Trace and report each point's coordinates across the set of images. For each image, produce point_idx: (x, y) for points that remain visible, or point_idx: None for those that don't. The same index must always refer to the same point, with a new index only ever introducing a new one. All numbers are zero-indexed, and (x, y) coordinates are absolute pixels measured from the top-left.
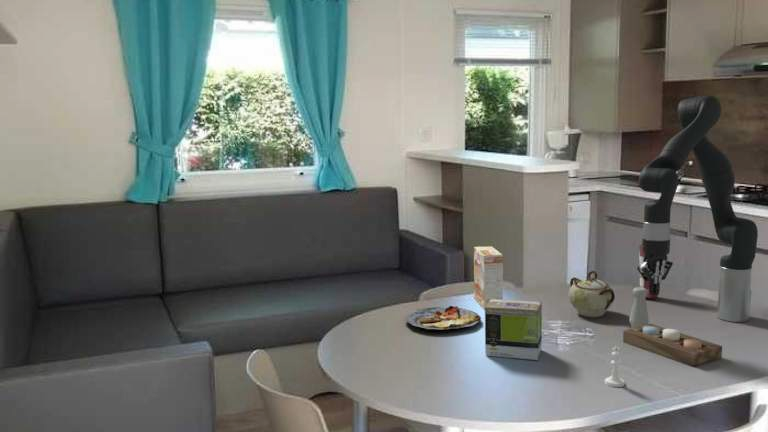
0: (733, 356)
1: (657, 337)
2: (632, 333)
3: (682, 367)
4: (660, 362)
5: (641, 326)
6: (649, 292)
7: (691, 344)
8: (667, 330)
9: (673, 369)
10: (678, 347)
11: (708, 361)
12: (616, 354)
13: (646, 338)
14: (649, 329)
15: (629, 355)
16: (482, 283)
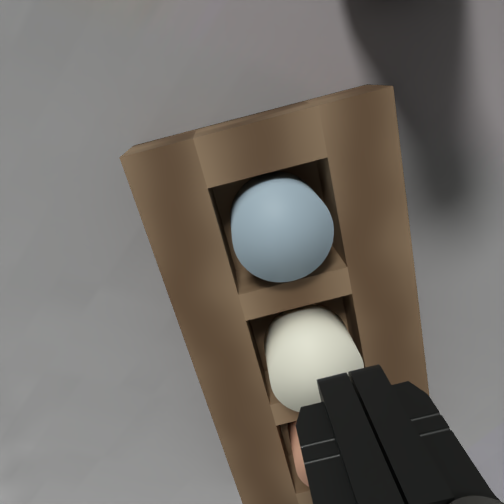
0: (471, 439)
1: (246, 326)
2: (147, 225)
3: (206, 477)
4: (154, 422)
5: (289, 122)
6: (298, 421)
7: (305, 483)
8: (307, 358)
9: (159, 484)
10: (248, 458)
11: None
12: None
13: (178, 320)
14: (262, 246)
15: (62, 325)
16: None
